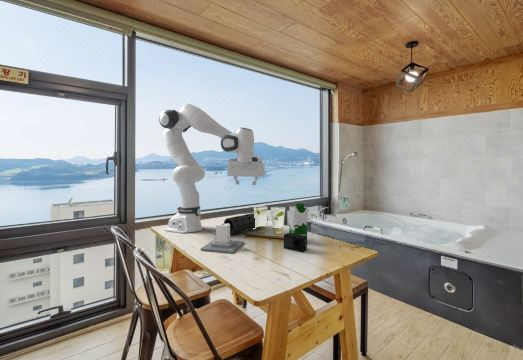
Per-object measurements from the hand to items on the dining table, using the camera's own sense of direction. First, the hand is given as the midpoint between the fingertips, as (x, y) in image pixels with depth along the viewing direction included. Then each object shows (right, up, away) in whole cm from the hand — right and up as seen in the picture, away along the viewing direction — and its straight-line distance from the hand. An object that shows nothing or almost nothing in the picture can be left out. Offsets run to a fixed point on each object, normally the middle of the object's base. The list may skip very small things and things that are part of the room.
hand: (245, 184), depth 147 cm
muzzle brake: (0, -28, +17) cm, 33 cm away
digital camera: (+24, -31, -16) cm, 42 cm away
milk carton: (+27, -30, -3) cm, 41 cm away
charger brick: (-10, -29, -13) cm, 33 cm away
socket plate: (-10, -30, -12) cm, 34 cm away
